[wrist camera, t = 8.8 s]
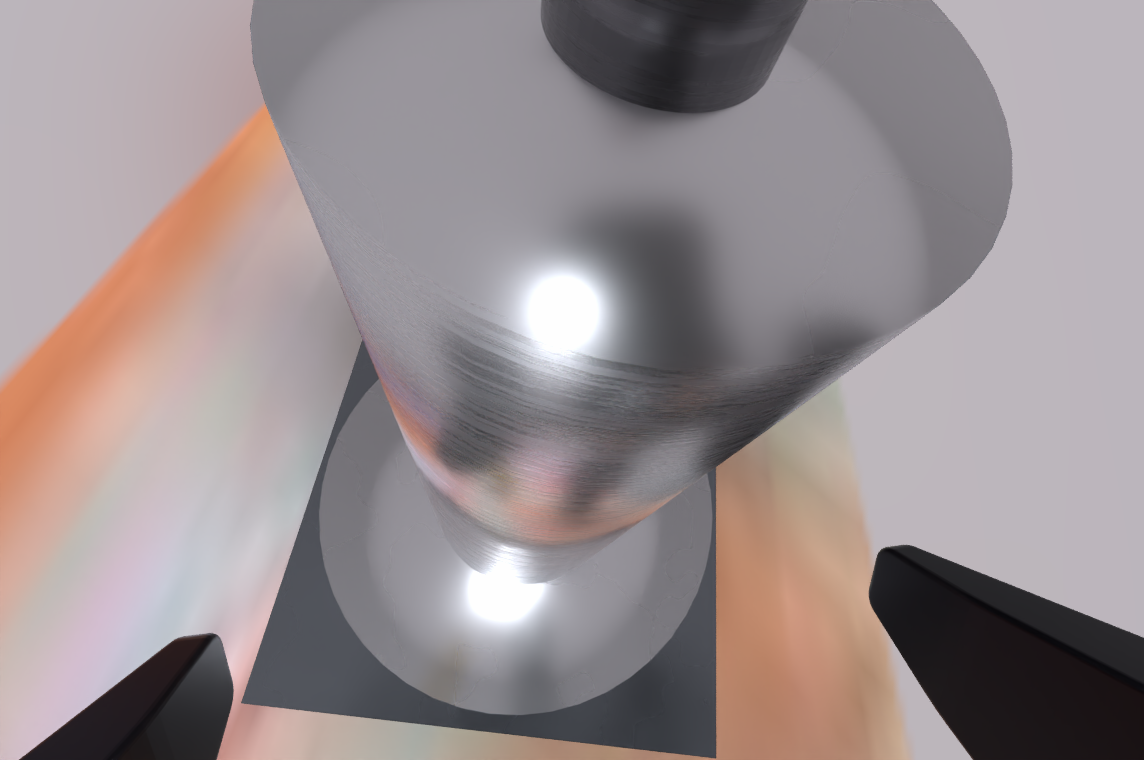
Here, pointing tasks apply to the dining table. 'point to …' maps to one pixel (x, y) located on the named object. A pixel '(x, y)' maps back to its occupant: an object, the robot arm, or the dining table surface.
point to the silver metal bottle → (624, 229)
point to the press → (487, 612)
